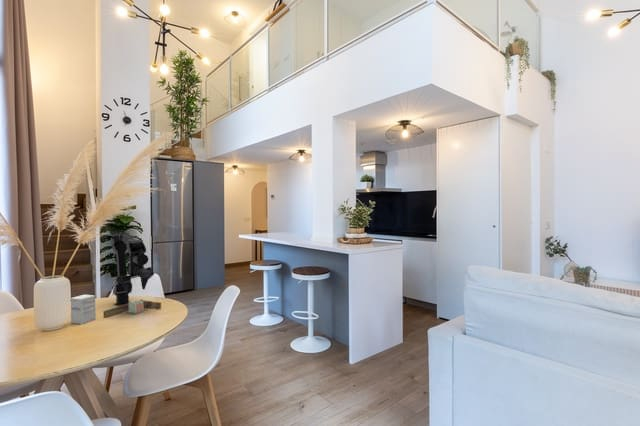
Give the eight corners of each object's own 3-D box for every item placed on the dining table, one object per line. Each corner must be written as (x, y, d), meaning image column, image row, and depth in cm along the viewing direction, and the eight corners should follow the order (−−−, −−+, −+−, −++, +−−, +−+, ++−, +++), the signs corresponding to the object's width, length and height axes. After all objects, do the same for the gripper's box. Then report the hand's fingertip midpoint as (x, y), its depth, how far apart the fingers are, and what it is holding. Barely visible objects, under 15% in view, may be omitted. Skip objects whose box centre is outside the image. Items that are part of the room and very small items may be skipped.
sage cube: (135, 312, 167) (135, 303, 167) (128, 311, 169) (128, 302, 169) (143, 310, 172) (143, 301, 172) (137, 309, 173) (136, 300, 173)
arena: (103, 317, 161) (103, 311, 161) (141, 305, 181) (141, 299, 181) (125, 321, 155) (125, 314, 155) (162, 308, 175) (162, 302, 175)
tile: (124, 312, 168) (124, 312, 168) (137, 308, 175) (137, 307, 175) (134, 314, 165) (134, 313, 165) (147, 309, 173) (147, 309, 173)
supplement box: (70, 323, 153) (69, 297, 153) (85, 318, 160) (85, 294, 160) (81, 324, 151) (80, 298, 151) (96, 319, 158) (95, 294, 158)
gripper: (130, 266, 159) (130, 297, 159) (160, 261, 176) (161, 288, 177) (115, 265, 163) (115, 295, 163) (146, 260, 180) (146, 287, 181)
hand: (136, 291), depth 171 cm, fingers open, 9 cm apart
